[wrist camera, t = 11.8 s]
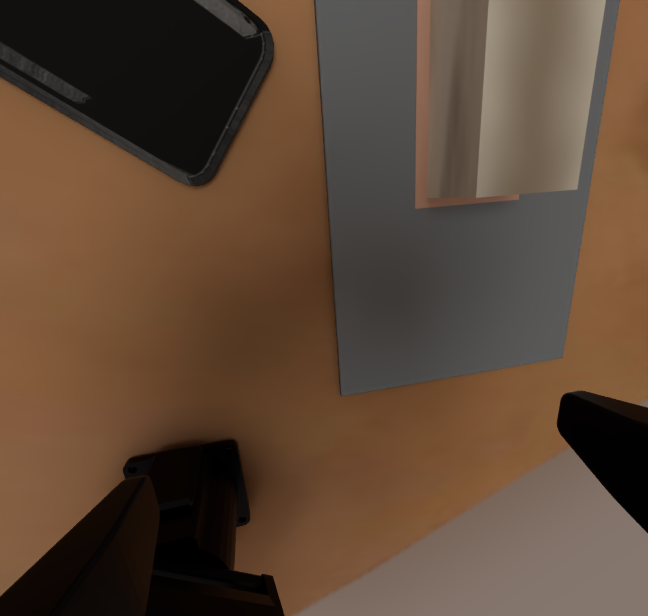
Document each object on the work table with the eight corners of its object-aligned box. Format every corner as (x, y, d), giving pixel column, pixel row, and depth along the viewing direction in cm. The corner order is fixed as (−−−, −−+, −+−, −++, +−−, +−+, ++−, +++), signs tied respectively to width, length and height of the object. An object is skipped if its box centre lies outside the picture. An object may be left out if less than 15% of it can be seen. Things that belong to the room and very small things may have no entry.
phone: (-148, -309, 10) (283, 36, 15) (-112, -262, 12) (281, 47, 16) (-218, -47, 12) (201, 197, 16) (-179, -27, 13) (204, 197, 17)
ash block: (530, -55, 16) (627, -144, 12) (507, 191, 20) (577, 189, 15) (432, -60, 15) (498, -157, 11) (426, 198, 19) (476, 197, 15)
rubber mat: (559, 356, 25) (563, 358, 24) (340, 394, 22) (341, 397, 22) (627, -84, 17) (635, -90, 17) (307, -105, 14) (308, -112, 14)
